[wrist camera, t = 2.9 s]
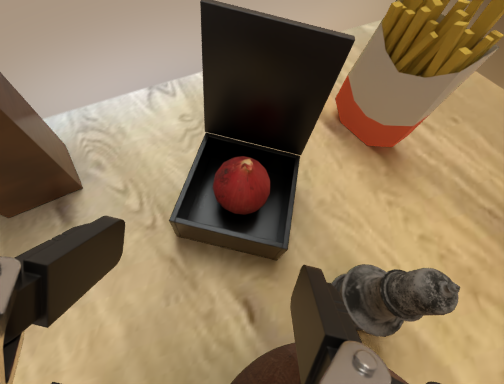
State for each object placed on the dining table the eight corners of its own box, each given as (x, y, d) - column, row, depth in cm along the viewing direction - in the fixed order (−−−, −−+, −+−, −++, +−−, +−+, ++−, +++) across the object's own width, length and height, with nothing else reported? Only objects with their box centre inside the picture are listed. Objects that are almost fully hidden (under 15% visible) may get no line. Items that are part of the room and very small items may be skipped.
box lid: (355, 40, 16) (354, 35, 16) (199, 0, 16) (203, -3, 16) (300, 155, 26) (301, 151, 26) (204, 131, 26) (206, 127, 26)
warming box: (276, 260, 25) (287, 249, 21) (176, 236, 25) (168, 220, 21) (289, 176, 30) (300, 155, 26) (207, 156, 30) (205, 132, 26)
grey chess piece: (392, 308, 24) (527, 300, 13) (355, 348, 22) (482, 377, 11) (351, 260, 26) (441, 220, 15) (314, 293, 24) (389, 273, 13)
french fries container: (379, 159, 34) (520, 20, 18) (326, 112, 37) (406, -39, 21) (396, 146, 35) (539, 8, 20) (345, 102, 39) (431, -45, 23)
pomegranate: (210, 222, 25) (206, 185, 18) (217, 177, 28) (217, 131, 21) (262, 227, 26) (278, 194, 19) (264, 183, 29) (279, 140, 22)
